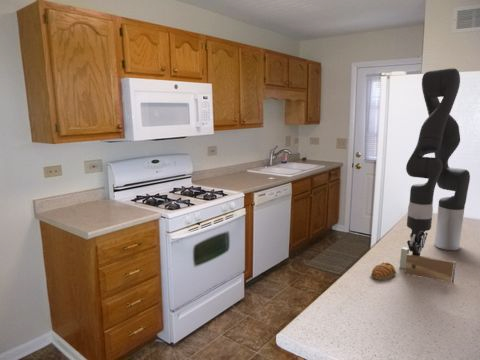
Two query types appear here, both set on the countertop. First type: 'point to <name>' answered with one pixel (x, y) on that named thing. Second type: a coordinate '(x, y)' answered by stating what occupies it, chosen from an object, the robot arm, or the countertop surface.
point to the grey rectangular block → (404, 255)
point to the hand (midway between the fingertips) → (415, 261)
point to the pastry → (383, 271)
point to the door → (429, 267)
